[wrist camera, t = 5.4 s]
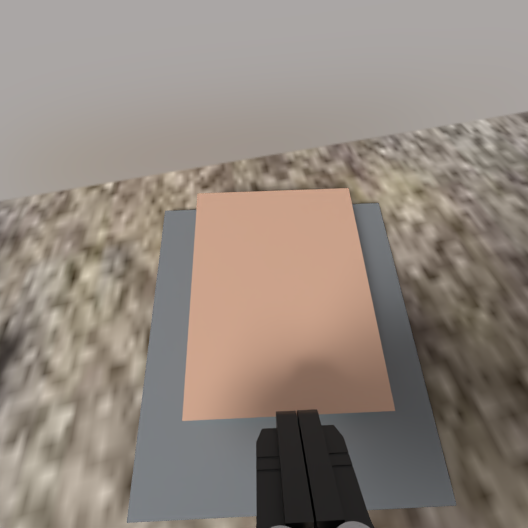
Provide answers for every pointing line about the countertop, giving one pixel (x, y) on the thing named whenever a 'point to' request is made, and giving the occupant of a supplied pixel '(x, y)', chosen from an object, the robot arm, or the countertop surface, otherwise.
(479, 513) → the countertop surface
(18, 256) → the countertop surface
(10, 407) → the countertop surface
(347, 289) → the tile
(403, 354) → the mat
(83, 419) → the countertop surface
